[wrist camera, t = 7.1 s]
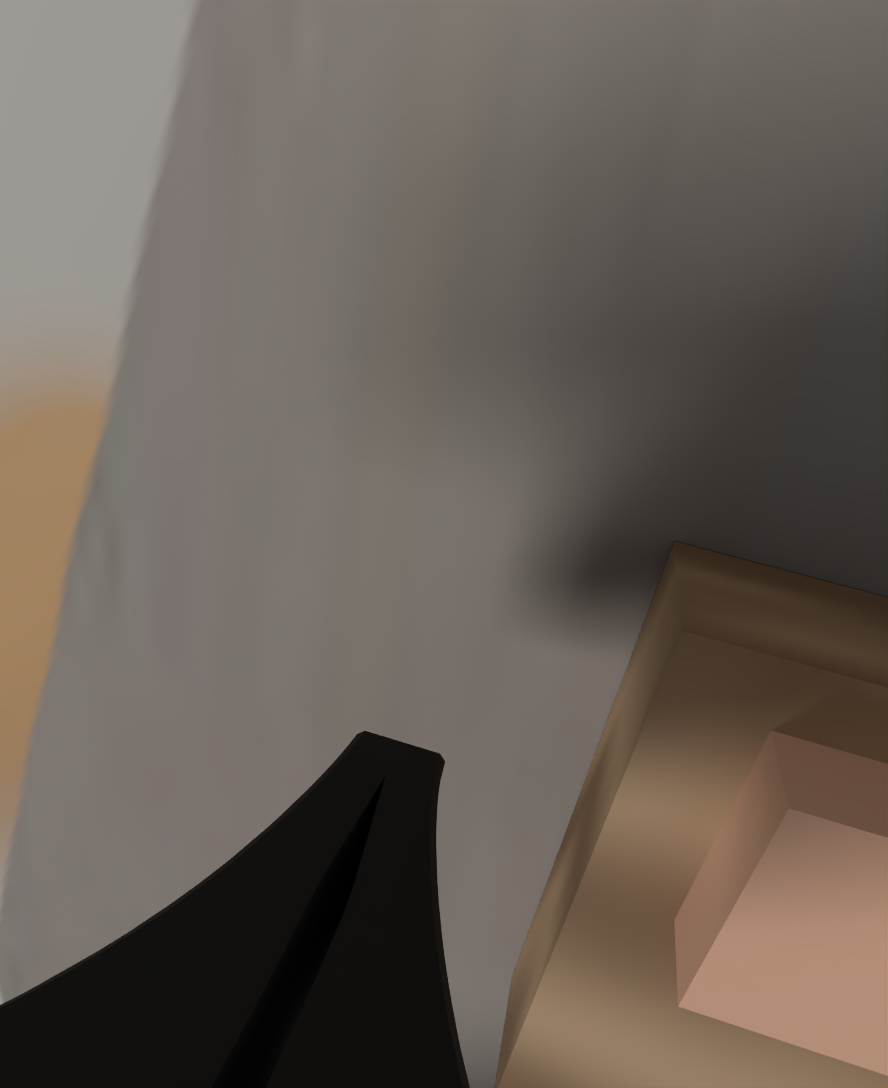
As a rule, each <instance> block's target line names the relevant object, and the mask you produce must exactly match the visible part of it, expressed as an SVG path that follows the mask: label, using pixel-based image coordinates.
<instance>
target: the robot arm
mask: <svg viewBox="0 0 888 1088" xmlns="http://www.w3.org/2000/svg"><path fill="white" fill-rule="evenodd" d="M444 764H445V761H444V759H443V758H442V756H441V755H440V754H439V753H436V752H433V751H429V750H426V749H423V748H420V747H416V746H413V745H410V744H406V743H403V742H400V741H397V740H393V739H390V738H387V737H383V736H380V735H377V734H374V733H370V732H367V731H363V732H361V733H359V734H357V735H356V736H355V738H354V739H353V740H352V741H351V743H350V744H349V745H348V746H347V748H346V749H345V750H344V751H343V752H342V753H341V755H340V756H339V757H338V758H337V759H336V760H335V761H334V763H333V764H332V765H331V766H330V767H329V768H328V769H327V770H326V771H325V772H324V773H323V774H322V775H321V777H320V778H319V779H318V780H317V781H316V782H315V783H314V784H313V785H312V786H311V787H310V788H309V789H308V790H307V791H306V792H305V793H304V794H303V795H302V796H301V797H300V798H299V799H297V800H296V801H295V802H294V803H293V804H292V805H291V806H290V807H289V808H288V809H287V810H286V811H285V812H284V813H283V814H282V815H281V816H280V817H279V818H278V819H276V820H275V821H274V822H273V823H272V824H271V825H270V826H269V827H268V828H266V829H265V830H264V831H263V832H262V833H261V834H259V835H258V836H257V837H256V838H255V839H254V840H252V841H251V842H250V843H249V844H248V845H246V846H245V847H244V848H243V849H242V850H241V851H239V852H238V853H237V854H236V855H235V856H234V857H232V858H231V859H230V860H229V861H227V862H226V863H225V864H224V865H222V866H221V867H220V868H219V869H217V870H216V871H215V872H213V873H212V874H211V875H210V876H208V877H207V878H206V879H204V880H203V881H202V882H200V883H199V884H198V885H196V886H195V887H194V888H192V889H191V890H189V891H188V892H187V893H185V894H184V895H183V896H181V897H180V898H178V899H177V900H176V901H174V902H173V903H171V904H170V905H169V906H167V907H166V908H164V909H163V910H161V911H160V912H158V913H157V914H155V915H154V916H152V917H151V918H149V919H148V920H146V921H145V922H143V923H142V924H140V925H139V926H137V927H136V928H134V929H133V930H131V931H130V932H128V933H127V934H125V935H123V936H122V937H120V938H119V939H117V940H115V941H114V942H112V943H111V944H109V945H107V946H106V947H104V948H102V949H101V950H99V951H97V952H96V953H94V954H92V955H90V956H89V957H87V958H85V959H83V960H82V961H80V962H78V963H76V964H75V965H73V966H71V967H69V968H68V969H66V970H64V971H62V972H60V973H59V974H57V975H55V976H53V977H52V978H50V979H48V980H46V981H45V982H43V983H41V984H39V985H38V986H36V987H34V988H32V989H30V990H29V991H27V992H25V993H23V994H21V995H19V996H17V997H15V998H13V999H11V1000H9V1001H7V1002H5V1003H3V1004H1V1005H0V1088H470V1087H469V1083H468V1078H467V1074H466V1070H465V1066H464V1062H463V1057H462V1053H461V1049H460V1044H459V1039H458V1034H457V1029H456V1023H455V1018H454V1013H453V1008H452V1002H451V996H450V990H449V984H448V977H447V971H446V964H445V957H444V949H443V941H442V932H441V921H440V911H439V900H438V885H437V857H436V822H437V803H438V793H439V785H440V780H441V776H442V772H443V768H444Z"/></svg>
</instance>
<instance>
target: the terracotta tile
mask: <svg viewBox="0 0 888 1088" xmlns="http://www.w3.org/2000/svg"><path fill="white" fill-rule="evenodd" d="M674 925H675V947H676V970H677V992H678V1007H681V1008H684V1009H687V1010H690V1011H693V1012H696V1013H699V1014H702V1015H705V1016H708V1017H712V1018H715V1019H718V1020H721V1021H724V1022H727V1023H730V1024H733V1025H736V1026H739V1027H742V1028H745V1029H748V1030H751V1031H754V1032H757V1033H760V1034H763V1035H766V1036H769V1037H772V1038H775V1039H778V1040H781V1041H784V1042H787V1043H790V1044H793V1045H796V1046H799V1047H802V1048H805V1049H808V1050H811V1051H814V1052H817V1053H820V1054H823V1055H826V1056H829V1057H832V1058H835V1059H838V1060H841V1061H844V1062H847V1063H850V1064H853V1065H856V1066H859V1067H862V1068H866V1069H869V1070H872V1071H875V1072H878V1073H881V1074H884V1075H887V1076H888V764H886V763H883V762H879V761H876V760H872V759H869V758H866V757H862V756H859V755H855V754H852V753H848V752H845V751H841V750H838V749H834V748H831V747H827V746H824V745H820V744H817V743H813V742H810V741H806V740H803V739H799V738H796V737H792V736H789V735H786V734H782V733H779V732H775V731H772V730H771V731H770V733H769V735H768V737H767V739H766V741H765V743H764V745H763V747H762V749H761V751H760V753H759V755H758V757H757V759H756V761H755V763H754V764H753V766H752V768H751V770H750V772H749V774H748V776H747V778H746V780H745V782H744V784H743V786H742V788H741V790H740V792H739V794H738V796H737V798H736V800H735V802H734V804H733V806H732V808H731V810H730V812H729V814H728V816H727V818H726V820H725V822H724V824H723V825H722V827H721V829H720V831H719V833H718V835H717V837H716V839H715V841H714V843H713V845H712V847H711V849H710V851H709V853H708V855H707V857H706V859H705V861H704V863H703V865H702V867H701V869H700V871H699V873H698V875H697V877H696V879H695V881H694V883H693V885H692V887H691V888H690V890H689V892H688V894H687V896H686V898H685V900H684V902H683V904H682V906H681V908H680V910H679V912H678V914H677V916H676V918H675V920H674Z"/></svg>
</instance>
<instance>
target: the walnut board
mask: <svg viewBox="0 0 888 1088" xmlns="http://www.w3.org/2000/svg"><path fill="white" fill-rule="evenodd" d="M771 730H772V731H775V732H779V733H782V734H786V735H789V736H792V737H796V738H799V739H803V740H806V741H810V742H813V743H817V744H820V745H824V746H827V747H831V748H834V749H838V750H841V751H845V752H848V753H852V754H855V755H859V756H862V757H866V758H869V759H872V760H876V761H879V762H883V763H886V764H888V598H887V597H883V596H879V595H875V594H872V593H868V592H864V591H860V590H857V589H853V588H849V587H845V586H841V585H838V584H834V583H830V582H826V581H823V580H819V579H815V578H811V577H807V576H804V575H800V574H796V573H792V572H788V571H785V570H781V569H777V568H773V567H770V566H766V565H762V564H758V563H754V562H751V561H747V560H743V559H739V558H736V557H732V556H728V555H724V554H720V553H717V552H713V551H709V550H705V549H702V548H698V547H694V546H690V545H686V544H683V543H679V542H675V541H674V543H673V546H672V548H671V551H670V554H669V556H668V559H667V562H666V565H665V567H664V570H663V573H662V575H661V578H660V581H659V583H658V586H657V589H656V591H655V594H654V597H653V599H652V602H651V605H650V608H649V610H648V613H647V616H646V618H645V621H644V624H643V626H642V629H641V632H640V634H639V637H638V640H637V642H636V645H635V648H634V651H633V653H632V656H631V659H630V661H629V664H628V667H627V669H626V672H625V675H624V677H623V680H622V683H621V685H620V688H619V691H618V694H617V696H616V699H615V702H614V704H613V707H612V710H611V712H610V715H609V718H608V720H607V723H606V726H605V728H604V731H603V734H602V737H601V739H600V742H599V745H598V747H597V750H596V753H595V755H594V758H593V761H592V763H591V766H590V769H589V771H588V774H587V777H586V779H585V782H584V785H583V788H582V790H581V793H580V796H579V798H578V801H577V804H576V806H575V809H574V812H573V814H572V817H571V820H570V822H569V825H568V828H567V831H566V833H565V836H564V839H563V841H562V844H561V847H560V849H559V852H558V855H557V857H556V860H555V863H554V865H553V868H552V871H551V874H550V876H549V879H548V882H547V884H546V887H545V890H544V892H543V895H542V898H541V900H540V903H539V906H538V908H537V911H536V914H535V917H534V919H533V922H532V925H531V927H530V930H529V933H528V935H527V938H526V941H525V943H524V946H523V949H522V951H521V954H520V957H519V960H518V962H517V965H516V968H515V970H514V973H513V976H512V980H511V986H510V993H509V999H508V1005H507V1012H506V1018H505V1025H504V1031H503V1037H502V1044H501V1050H500V1057H499V1063H498V1069H497V1076H496V1082H495V1088H888V1076H887V1075H884V1074H881V1073H878V1072H875V1071H872V1070H869V1069H866V1068H862V1067H859V1066H856V1065H853V1064H850V1063H847V1062H844V1061H841V1060H838V1059H835V1058H832V1057H829V1056H826V1055H823V1054H820V1053H817V1052H814V1051H811V1050H808V1049H805V1048H802V1047H799V1046H796V1045H793V1044H790V1043H787V1042H784V1041H781V1040H778V1039H775V1038H772V1037H769V1036H766V1035H763V1034H760V1033H757V1032H754V1031H751V1030H748V1029H745V1028H742V1027H739V1026H736V1025H733V1024H730V1023H727V1022H724V1021H721V1020H718V1019H715V1018H712V1017H708V1016H705V1015H702V1014H699V1013H696V1012H693V1011H690V1010H687V1009H684V1008H681V1007H678V992H677V970H676V947H675V925H674V920H675V918H676V916H677V914H678V912H679V910H680V908H681V906H682V904H683V902H684V900H685V898H686V896H687V894H688V892H689V890H690V888H691V887H692V885H693V883H694V881H695V879H696V877H697V875H698V873H699V871H700V869H701V867H702V865H703V863H704V861H705V859H706V857H707V855H708V853H709V851H710V849H711V847H712V845H713V843H714V841H715V839H716V837H717V835H718V833H719V831H720V829H721V827H722V825H723V824H724V822H725V820H726V818H727V816H728V814H729V812H730V810H731V808H732V806H733V804H734V802H735V800H736V798H737V796H738V794H739V792H740V790H741V788H742V786H743V784H744V782H745V780H746V778H747V776H748V774H749V772H750V770H751V768H752V766H753V764H754V763H755V761H756V759H757V757H758V755H759V753H760V751H761V749H762V747H763V745H764V743H765V741H766V739H767V737H768V735H769V733H770V731H771Z"/></svg>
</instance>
